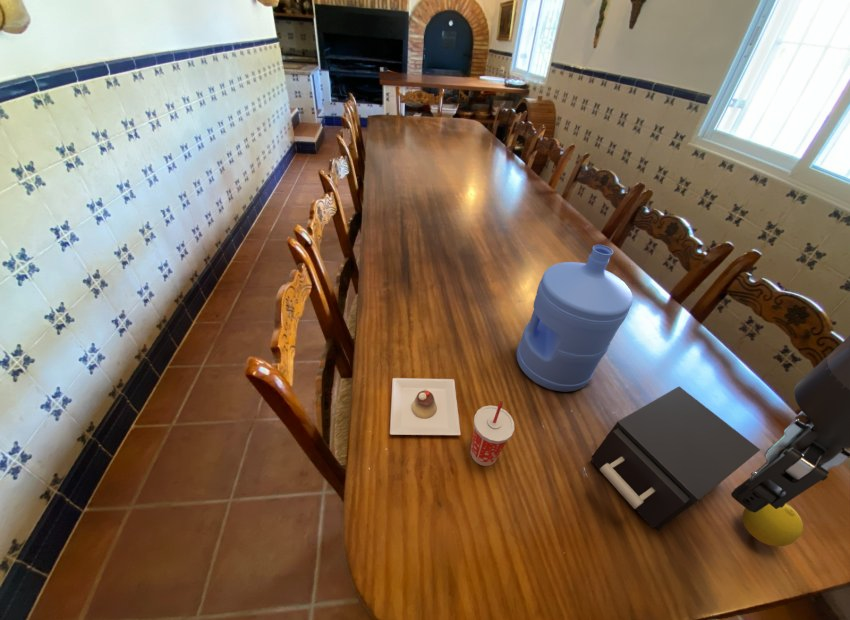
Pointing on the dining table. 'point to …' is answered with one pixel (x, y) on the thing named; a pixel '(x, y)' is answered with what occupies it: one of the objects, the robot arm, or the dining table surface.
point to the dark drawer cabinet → (686, 444)
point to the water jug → (573, 322)
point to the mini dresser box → (639, 478)
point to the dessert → (424, 407)
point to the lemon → (774, 525)
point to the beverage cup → (490, 433)
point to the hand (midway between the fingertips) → (760, 479)
